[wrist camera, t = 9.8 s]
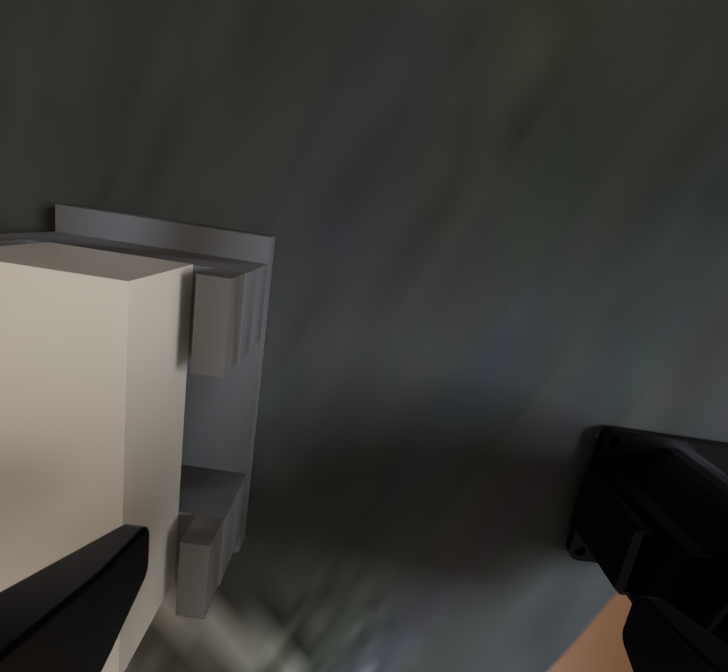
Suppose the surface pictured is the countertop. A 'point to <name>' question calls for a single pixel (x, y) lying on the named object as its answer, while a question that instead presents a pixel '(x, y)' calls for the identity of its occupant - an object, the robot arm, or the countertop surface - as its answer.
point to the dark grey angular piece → (200, 373)
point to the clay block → (91, 411)
